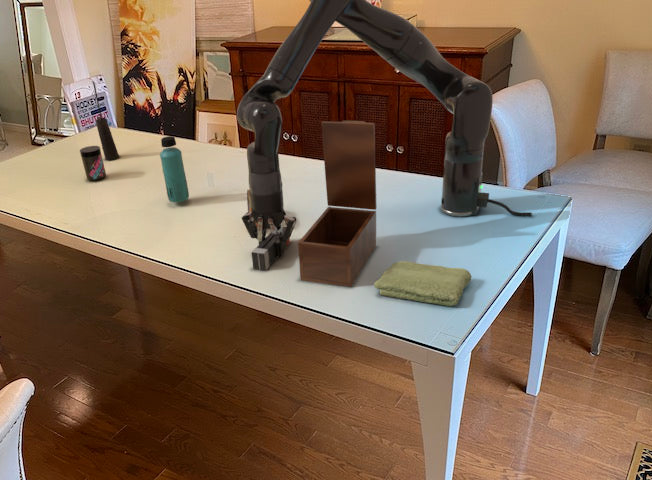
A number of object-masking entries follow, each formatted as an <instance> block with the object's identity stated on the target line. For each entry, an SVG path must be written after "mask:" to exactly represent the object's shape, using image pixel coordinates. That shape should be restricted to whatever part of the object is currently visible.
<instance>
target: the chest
mask: <svg viewBox="0 0 652 480" xmlns="http://www.w3.org/2000/svg"><path fill="white" fill-rule="evenodd" d="M376 248H377V210H371V209H359V208H348V207H337V206H327V207H326V209H325V210H324V211H323V212H322V214H320V216H319V217H318V218H317V219H316V221H315V222H314V223H313V225H311V227H310V228H309V229H308V230H307V231H306V232H305V234H304V235H303V236H302V237H301V238H300V240H299V241H298V242H297V250H298V262H299V263H298V265H299V276H300V277H299V278H300V281H303V282H310V283H311V282H312V283H318V284H324V285H325V284H326V285H333V286H339V287H346V288H352V286H353V285H354V283H355V282H356V280H357V278H358V277H359V275H360V274H361V272H362V271H363V269H364V267H365V265H366V264H367V262H368V260H369V259H370V257H371V256H372V254H373V252H374V251H375V249H376Z"/></svg>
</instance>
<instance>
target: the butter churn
mask: <svg viewBox="0 0 652 480" xmlns="http://www.w3.org/2000/svg"><path fill="white" fill-rule="evenodd" d="M92 84H93V89H94V94H95V99H96V103H97V109H98V113H99V116H97V117H96V120H95V123H96V128H97V132H98V137H99V140H100V144H101V149H102V151H103V155H104V160H105V161H108V162H109V161H114V160H118V159H119V158H120V155H119V152H118V149H117V147H116V143H115V140H114V137H113V134H112V131H111V128H110V125H109V122H108V120H107V118H106V117H103V116H102V113H101V108H100V103H99V98H98V97H99V96H98V93H97V87H96V83H95V81H92Z"/></svg>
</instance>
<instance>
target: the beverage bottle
mask: <svg viewBox="0 0 652 480" xmlns="http://www.w3.org/2000/svg"><path fill="white" fill-rule="evenodd" d="M160 141H161V147H162V148H164V149H162V150H161V152H160V154H159V157H160V161H161V166H162V173H163V178H164V184H165V189H166V196H167V199H168V201H169V202H170V203H182V202H186V201H187V200H188V199H189V198H190V195H189V194H190V192H189V186H188V181H187V175H186V171H185V166H184V160H183V155H182V154H183V153H182V150H180V149H179V148H177V147H175V146H176V145H177V141H176V138H175V136H172V135H171V136H170V135H169V136H163V137H162V138H161V139H160Z"/></svg>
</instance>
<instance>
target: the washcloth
mask: <svg viewBox="0 0 652 480" xmlns="http://www.w3.org/2000/svg"><path fill="white" fill-rule="evenodd" d="M472 278H473V277H472V274H471V273H470V271H469V270H467V269H465V268H462V267H448V266H442V265H434V264H426V263H418V262H413V261H408V260H407V261H406V260H401V261H400V260H399V261H396V262H393V264H391V266H390V267H388V269H386V270H385V271H383V273H382V275H381V277H380V278H379V279H377V280H375V282H374V284H373V286H374V288H375V289H377V290H379V295H380V296H383V297H388V298H396V299H405V300H409V301H415V302H422V303H428V304H435V305H441V306H447V307H452V306H456V305H458V303H459V301H460V298H461V297H462V295H463V294H464V290H465V289H466V288H467V287H468V285H469V283H470V282H471V281H472Z"/></svg>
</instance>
